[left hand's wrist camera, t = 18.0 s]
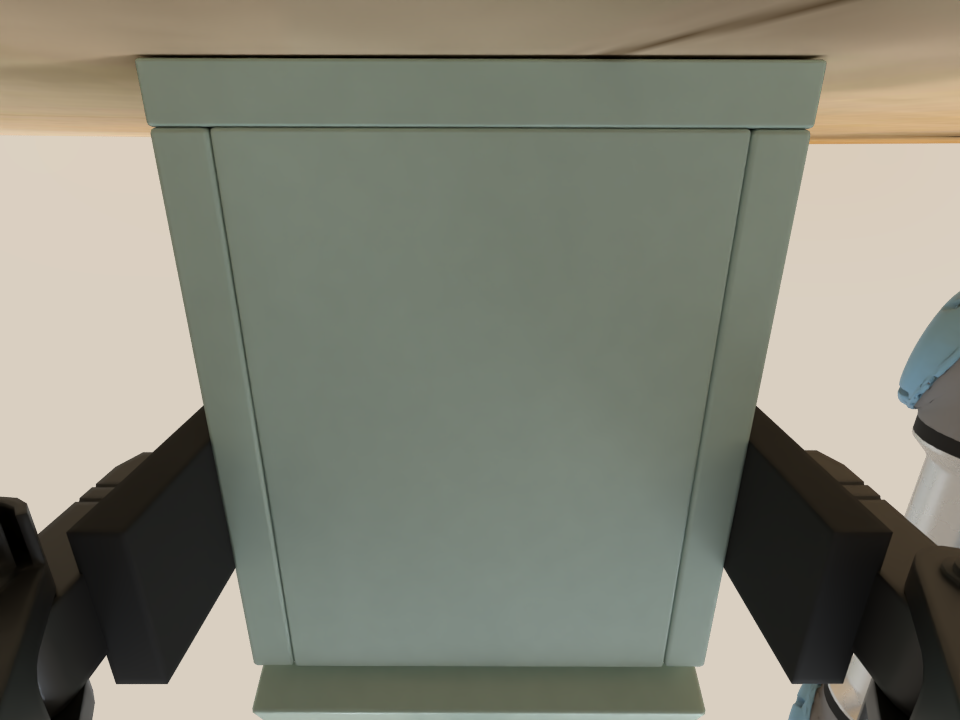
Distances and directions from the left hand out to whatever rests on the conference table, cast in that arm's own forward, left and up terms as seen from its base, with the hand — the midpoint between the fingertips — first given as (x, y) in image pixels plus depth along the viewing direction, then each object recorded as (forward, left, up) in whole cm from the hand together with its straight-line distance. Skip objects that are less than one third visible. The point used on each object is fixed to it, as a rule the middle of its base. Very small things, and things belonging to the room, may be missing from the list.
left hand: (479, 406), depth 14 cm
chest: (+4, -2, -7) cm, 8 cm away
